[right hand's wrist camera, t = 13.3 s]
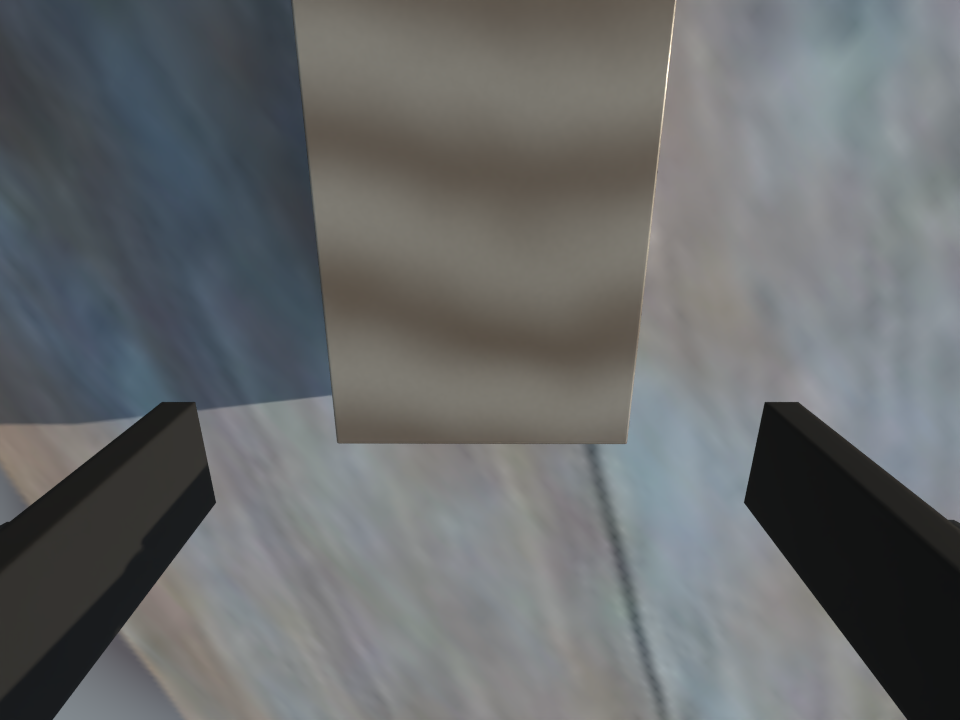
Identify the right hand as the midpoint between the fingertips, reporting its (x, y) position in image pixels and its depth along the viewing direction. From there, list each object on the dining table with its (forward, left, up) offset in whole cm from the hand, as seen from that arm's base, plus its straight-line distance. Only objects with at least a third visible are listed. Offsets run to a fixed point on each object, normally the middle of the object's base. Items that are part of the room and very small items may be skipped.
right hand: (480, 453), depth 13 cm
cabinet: (+5, +4, -16) cm, 17 cm away
